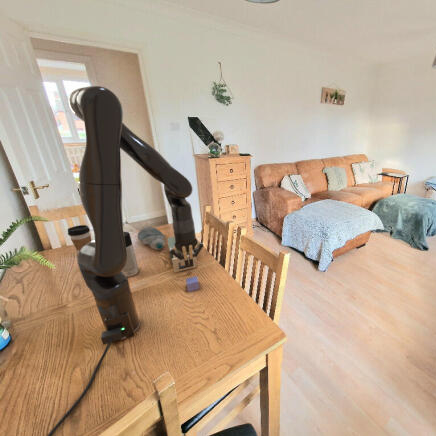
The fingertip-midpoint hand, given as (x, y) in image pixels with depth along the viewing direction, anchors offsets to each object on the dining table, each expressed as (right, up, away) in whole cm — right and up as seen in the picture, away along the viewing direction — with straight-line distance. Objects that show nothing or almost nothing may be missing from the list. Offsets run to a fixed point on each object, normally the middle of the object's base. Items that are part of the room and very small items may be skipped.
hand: (189, 266), depth 99 cm
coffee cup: (-65, +1, +25) cm, 69 cm away
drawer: (-10, -3, +18) cm, 20 cm away
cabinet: (-15, 0, +27) cm, 31 cm away
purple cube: (0, -10, +4) cm, 11 cm away
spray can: (-32, -6, +12) cm, 35 cm away
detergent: (-36, +5, +37) cm, 52 cm away
